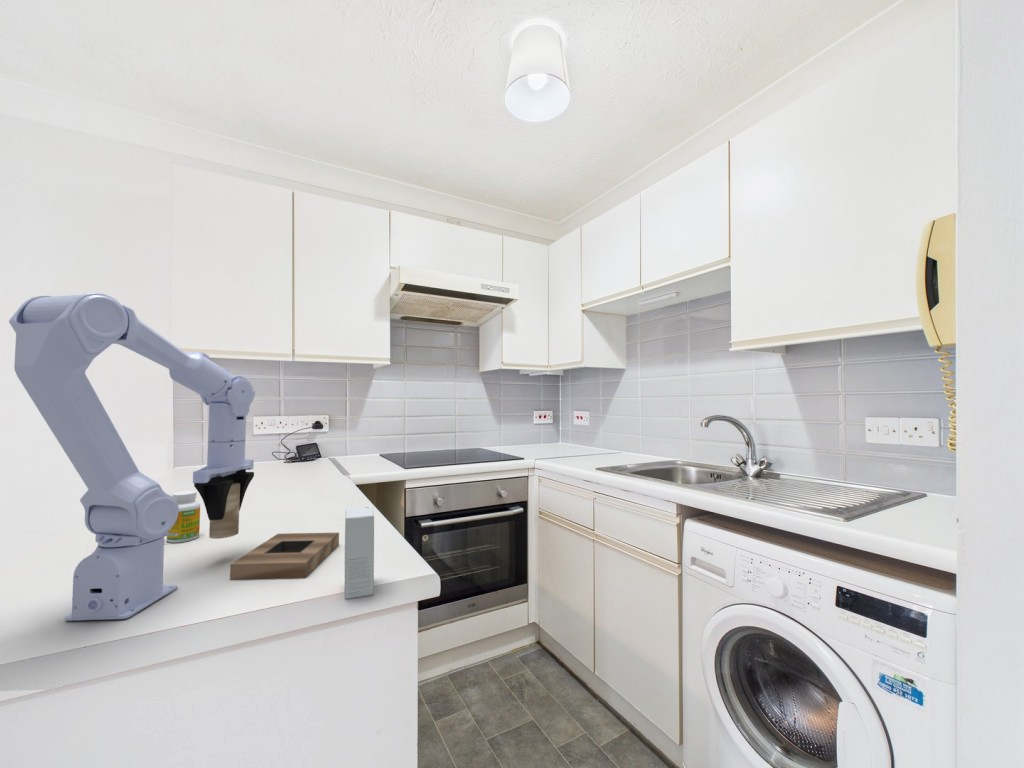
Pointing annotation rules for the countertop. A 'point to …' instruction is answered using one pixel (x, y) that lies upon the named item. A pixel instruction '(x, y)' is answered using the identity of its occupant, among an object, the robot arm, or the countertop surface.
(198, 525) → the supplement bottle
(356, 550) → the skincare box
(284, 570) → the socket block
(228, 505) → the birch peg
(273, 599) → the countertop surface
